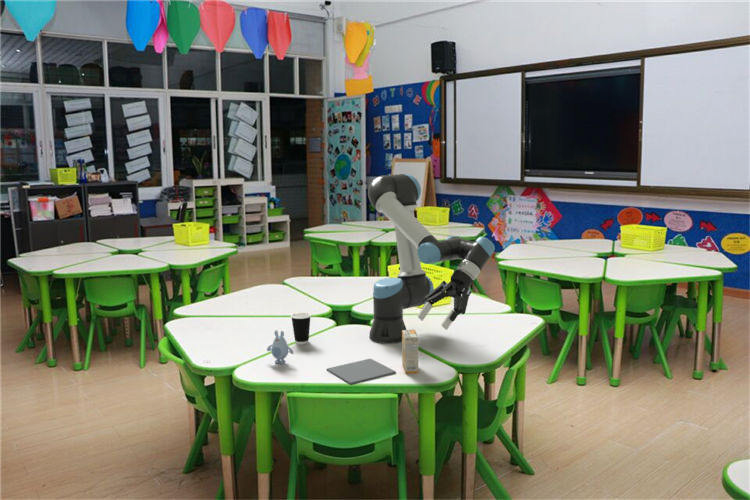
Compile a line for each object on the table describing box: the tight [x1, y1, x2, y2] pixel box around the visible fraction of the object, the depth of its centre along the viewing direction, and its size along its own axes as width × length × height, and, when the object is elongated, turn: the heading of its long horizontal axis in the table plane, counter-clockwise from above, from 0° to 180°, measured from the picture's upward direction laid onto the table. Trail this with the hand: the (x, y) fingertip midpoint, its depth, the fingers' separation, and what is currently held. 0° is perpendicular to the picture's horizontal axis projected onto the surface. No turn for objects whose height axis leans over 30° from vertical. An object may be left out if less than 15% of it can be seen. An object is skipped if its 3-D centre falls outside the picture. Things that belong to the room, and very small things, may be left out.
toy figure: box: [266, 329, 294, 365], centre depth 231 cm, size 11×6×12 cm, turn 70°
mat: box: [326, 358, 397, 385], centre depth 222 cm, size 18×16×1 cm
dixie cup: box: [290, 312, 312, 345], centre depth 254 cm, size 8×8×11 cm
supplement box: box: [401, 329, 419, 375], centre depth 222 cm, size 8×5×13 cm, turn 5°
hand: (431, 322), depth 226 cm, fingers open, 13 cm apart
